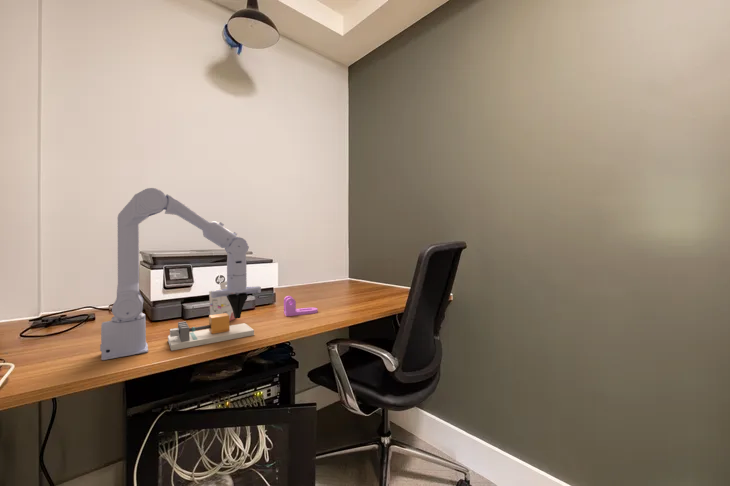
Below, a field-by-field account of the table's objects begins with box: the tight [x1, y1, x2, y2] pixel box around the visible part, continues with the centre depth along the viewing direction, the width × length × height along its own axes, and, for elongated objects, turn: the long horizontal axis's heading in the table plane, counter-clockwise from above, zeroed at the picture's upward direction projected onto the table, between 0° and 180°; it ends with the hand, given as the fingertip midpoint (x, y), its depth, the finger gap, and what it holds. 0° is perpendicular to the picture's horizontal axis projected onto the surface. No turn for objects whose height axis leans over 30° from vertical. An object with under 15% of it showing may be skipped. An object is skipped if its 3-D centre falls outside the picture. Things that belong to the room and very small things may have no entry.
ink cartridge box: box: [208, 280, 236, 322], centre depth 112 cm, size 9×5×15 cm, turn 168°
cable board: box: [167, 320, 255, 352], centre depth 94 cm, size 22×10×5 cm, turn 127°
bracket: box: [283, 295, 319, 317], centre depth 124 cm, size 13×6×7 cm, turn 113°
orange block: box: [208, 313, 230, 334], centre depth 95 cm, size 5×4×5 cm
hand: (237, 317), depth 98 cm, fingers closed
